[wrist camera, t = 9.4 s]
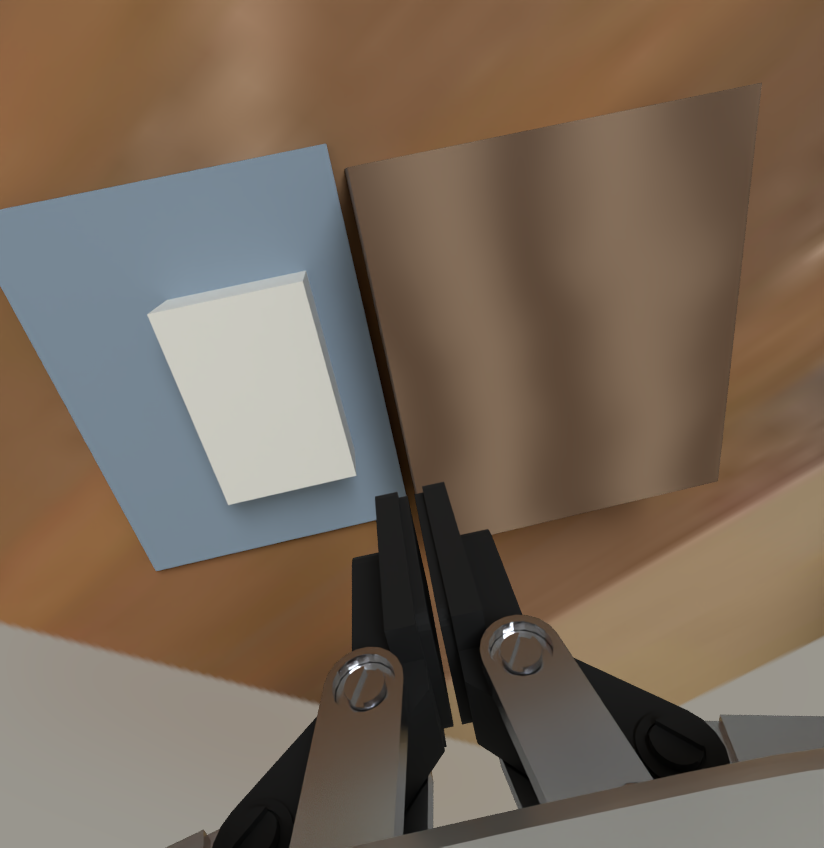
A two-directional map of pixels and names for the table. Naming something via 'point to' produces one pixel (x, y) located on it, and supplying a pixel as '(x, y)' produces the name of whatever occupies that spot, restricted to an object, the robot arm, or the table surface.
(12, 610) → the table surface
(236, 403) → the block
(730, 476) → the table surface
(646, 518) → the table surface
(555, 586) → the table surface
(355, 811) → the robot arm
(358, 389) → the mat
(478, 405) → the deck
